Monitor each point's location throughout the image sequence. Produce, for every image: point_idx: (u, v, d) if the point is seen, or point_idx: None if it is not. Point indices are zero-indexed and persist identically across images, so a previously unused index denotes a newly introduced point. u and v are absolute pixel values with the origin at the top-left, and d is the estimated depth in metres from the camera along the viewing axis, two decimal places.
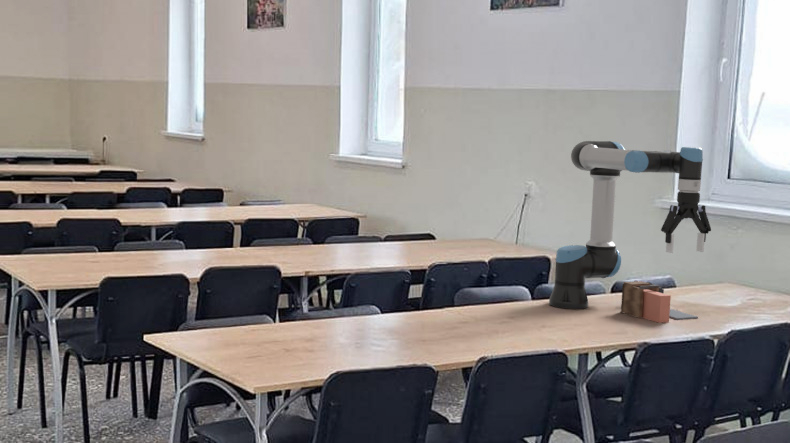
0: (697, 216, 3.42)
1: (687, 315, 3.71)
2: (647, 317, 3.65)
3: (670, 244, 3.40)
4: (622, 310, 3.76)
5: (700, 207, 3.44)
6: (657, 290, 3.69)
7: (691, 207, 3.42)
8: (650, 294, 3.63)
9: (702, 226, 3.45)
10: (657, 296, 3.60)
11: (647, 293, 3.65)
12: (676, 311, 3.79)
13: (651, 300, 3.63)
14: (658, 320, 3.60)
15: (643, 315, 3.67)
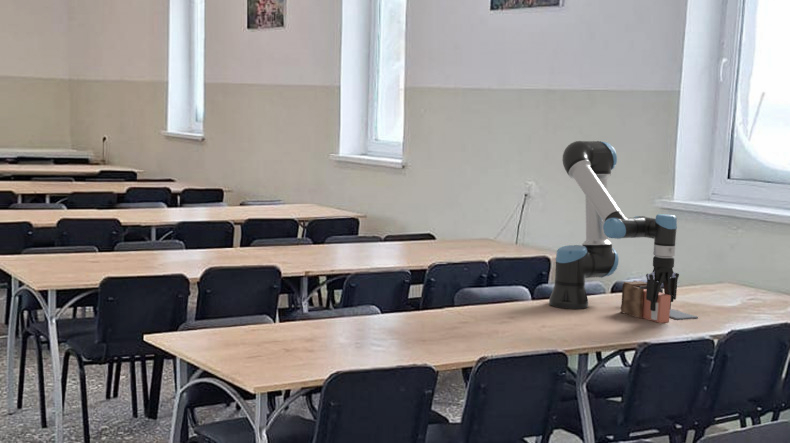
0: (669, 281, 3.60)
1: (687, 315, 3.71)
2: (647, 317, 3.65)
3: (655, 312, 3.60)
4: (622, 310, 3.76)
5: (674, 274, 3.62)
6: None
7: (667, 268, 3.60)
8: None
9: (669, 293, 3.61)
10: None
11: None
12: (676, 311, 3.79)
13: None
14: (658, 320, 3.60)
15: (643, 315, 3.67)
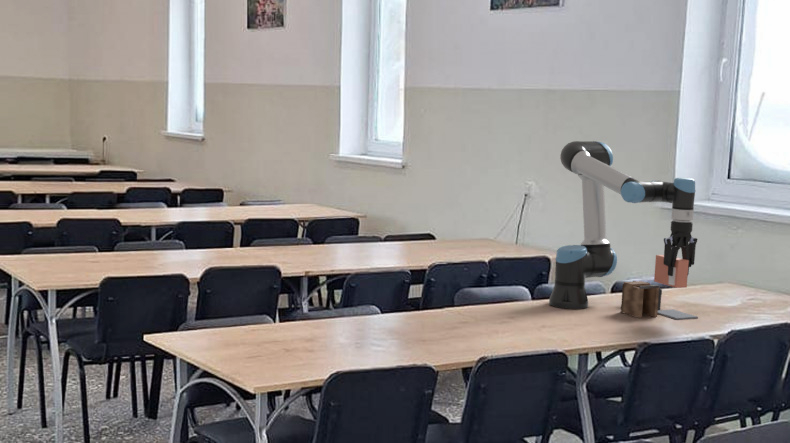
0: (687, 246, 3.55)
1: (687, 315, 3.71)
2: (664, 282, 3.60)
3: (672, 277, 3.55)
4: (622, 310, 3.76)
5: (692, 238, 3.57)
6: (657, 290, 3.69)
7: (685, 233, 3.55)
8: None
9: (687, 258, 3.56)
10: None
11: None
12: (676, 311, 3.79)
13: None
14: (676, 285, 3.55)
15: (660, 280, 3.62)
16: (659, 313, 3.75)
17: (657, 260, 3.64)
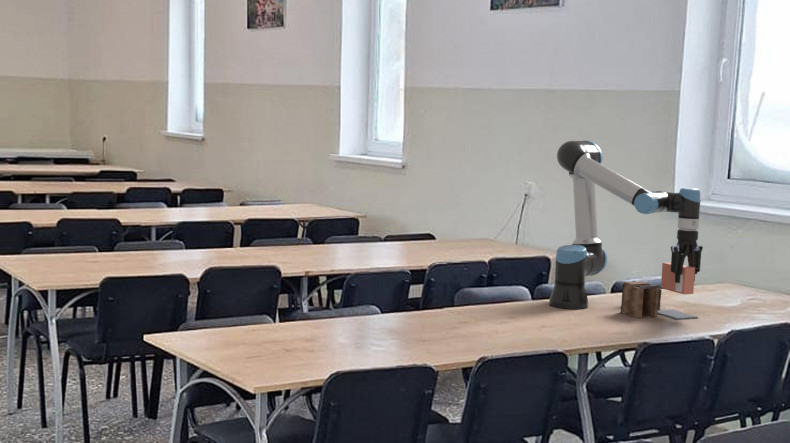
0: (693, 254, 3.67)
1: (687, 315, 3.71)
2: (672, 289, 3.72)
3: (679, 284, 3.67)
4: (622, 310, 3.76)
5: (698, 246, 3.69)
6: (657, 290, 3.69)
7: (691, 241, 3.67)
8: None
9: (693, 266, 3.68)
10: (682, 268, 3.67)
11: None
12: (676, 311, 3.79)
13: None
14: (683, 292, 3.66)
15: (667, 287, 3.74)
16: (659, 313, 3.75)
17: (664, 268, 3.76)
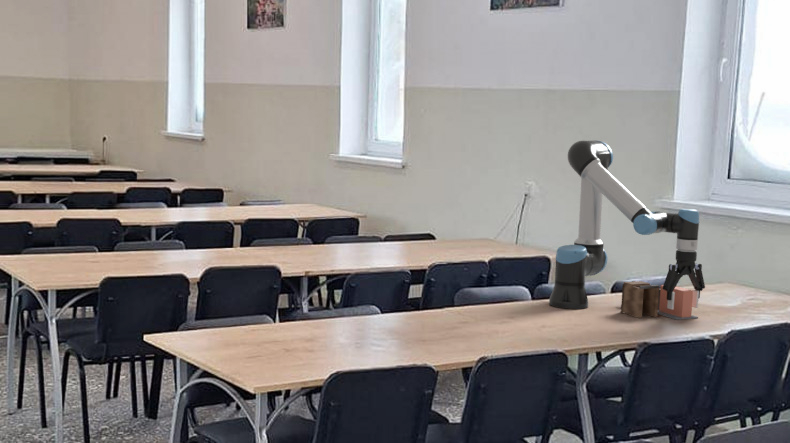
0: (693, 273, 3.68)
1: None
2: (670, 312, 3.73)
3: (671, 301, 3.67)
4: (622, 310, 3.76)
5: (697, 265, 3.70)
6: (657, 290, 3.69)
7: (689, 264, 3.68)
8: None
9: (697, 283, 3.70)
10: (680, 291, 3.68)
11: None
12: None
13: (674, 296, 3.71)
14: (681, 315, 3.68)
15: (666, 310, 3.75)
16: (659, 313, 3.75)
17: (662, 290, 3.77)
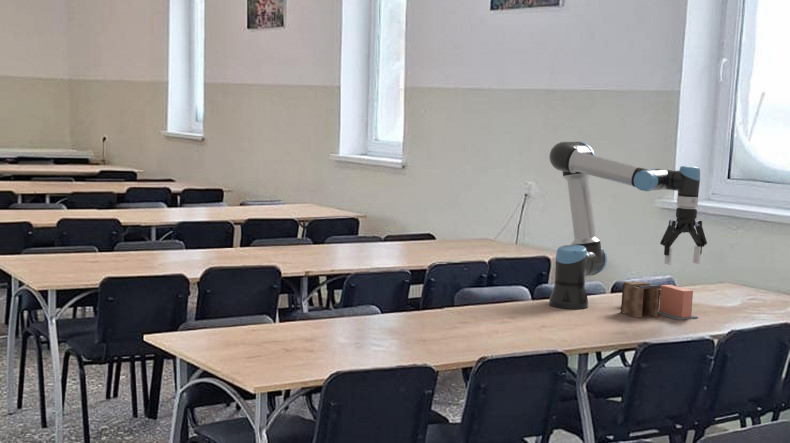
0: (694, 230, 3.67)
1: None
2: (670, 312, 3.73)
3: (668, 256, 3.65)
4: (622, 310, 3.76)
5: (697, 222, 3.69)
6: (657, 290, 3.69)
7: (689, 222, 3.66)
8: (673, 289, 3.71)
9: (698, 240, 3.69)
10: (680, 291, 3.68)
11: (670, 288, 3.73)
12: None
13: (674, 296, 3.71)
14: (681, 315, 3.68)
15: (666, 310, 3.75)
16: (659, 313, 3.75)
17: (662, 290, 3.77)
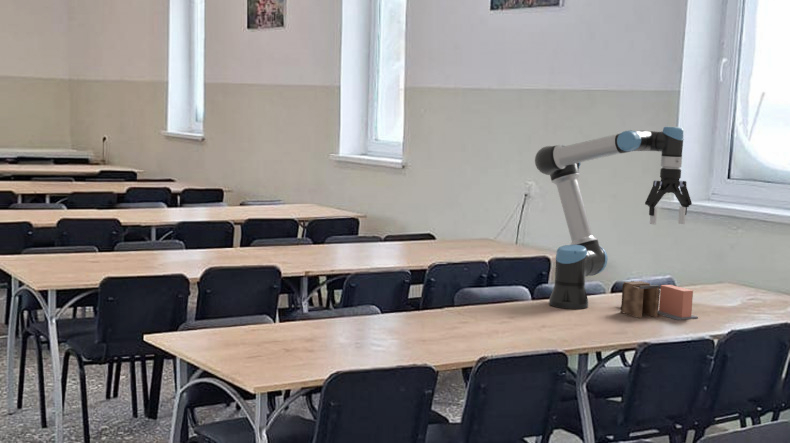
0: (678, 191, 3.70)
1: None
2: (670, 312, 3.73)
3: (653, 216, 3.67)
4: (622, 310, 3.76)
5: (681, 182, 3.71)
6: (657, 290, 3.69)
7: (673, 182, 3.69)
8: (673, 289, 3.71)
9: (683, 200, 3.72)
10: (680, 291, 3.68)
11: (670, 288, 3.73)
12: None
13: (674, 296, 3.71)
14: (681, 315, 3.68)
15: (666, 310, 3.75)
16: (659, 313, 3.75)
17: (662, 290, 3.77)
